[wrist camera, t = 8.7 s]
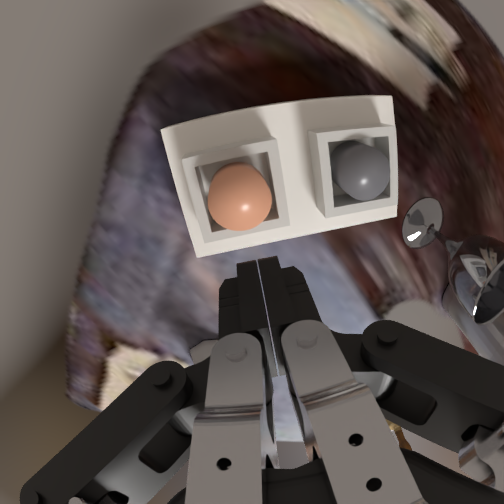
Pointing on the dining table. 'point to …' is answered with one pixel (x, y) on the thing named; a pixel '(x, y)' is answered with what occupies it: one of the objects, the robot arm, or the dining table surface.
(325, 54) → the dining table surface
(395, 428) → the hand bell
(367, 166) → the charcoal button
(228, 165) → the terracotta button
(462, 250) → the wine glass
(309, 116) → the console
